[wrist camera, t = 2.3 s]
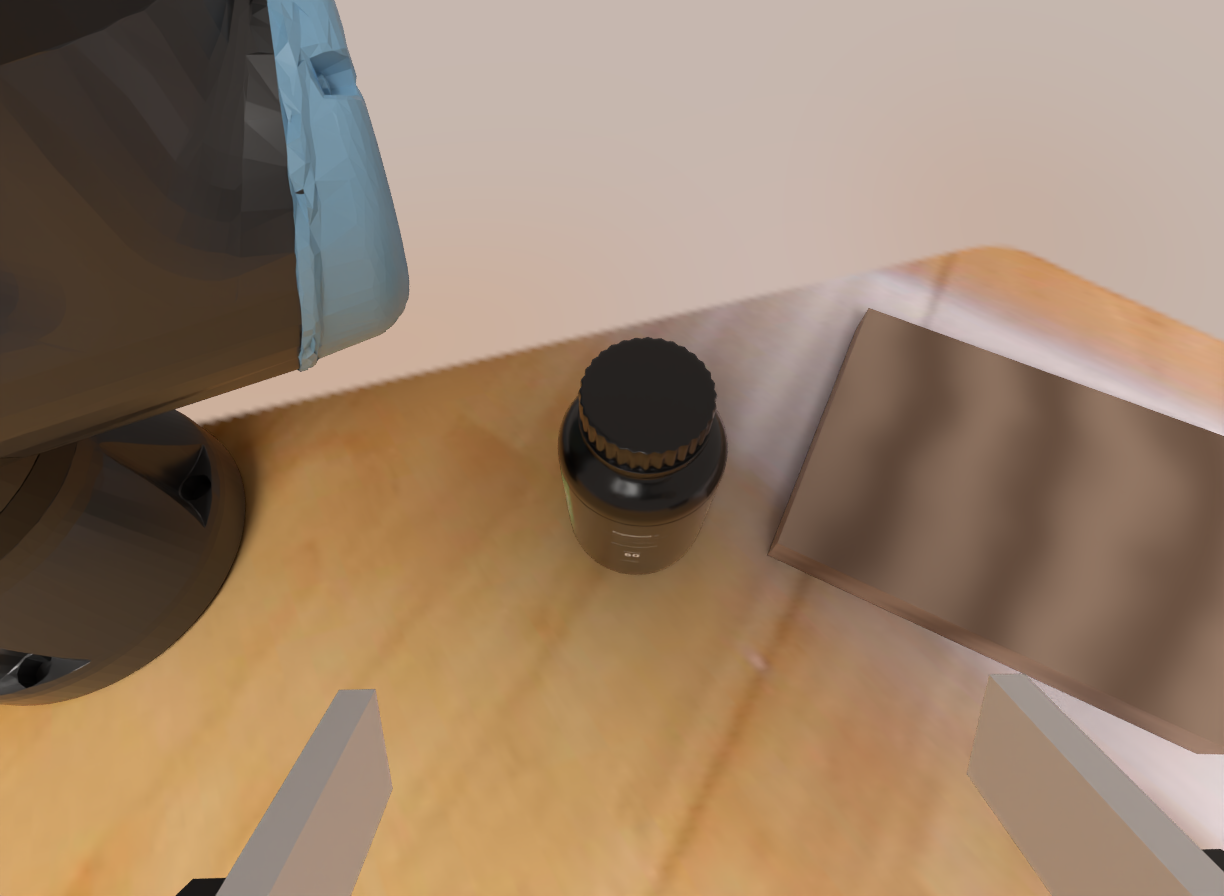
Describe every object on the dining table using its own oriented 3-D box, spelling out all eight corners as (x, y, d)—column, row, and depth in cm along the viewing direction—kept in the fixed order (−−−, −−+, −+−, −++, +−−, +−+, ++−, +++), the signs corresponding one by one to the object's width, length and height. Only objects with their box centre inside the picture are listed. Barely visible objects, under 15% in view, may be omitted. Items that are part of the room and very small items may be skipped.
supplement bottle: (550, 553, 30) (517, 448, 19) (595, 440, 33) (587, 293, 22) (680, 596, 29) (720, 511, 18) (714, 476, 32) (766, 341, 21)
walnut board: (767, 555, 30) (777, 543, 28) (856, 329, 36) (868, 308, 34) (1196, 753, 26) (1240, 754, 24) (1210, 460, 32) (1246, 444, 30)
